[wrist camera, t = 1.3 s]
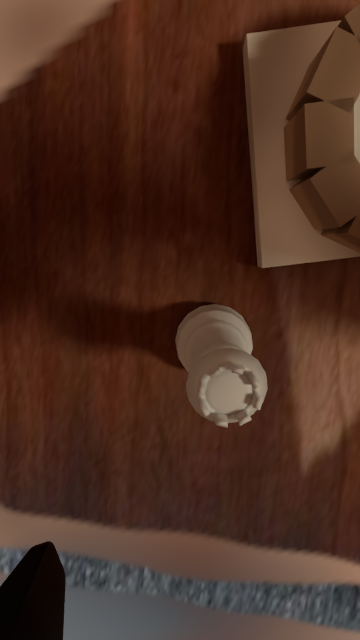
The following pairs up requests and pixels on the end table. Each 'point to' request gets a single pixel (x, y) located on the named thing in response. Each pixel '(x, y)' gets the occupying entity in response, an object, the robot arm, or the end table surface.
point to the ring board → (305, 140)
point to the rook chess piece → (220, 365)
